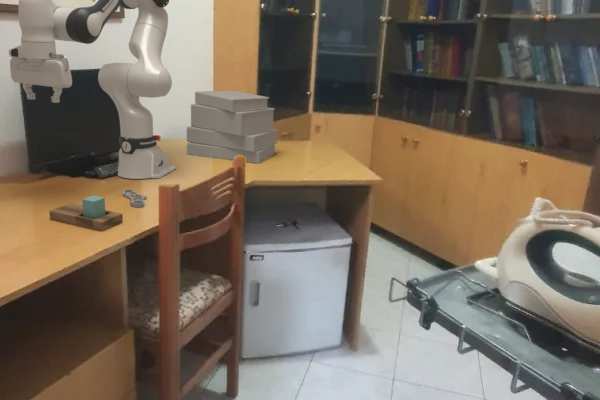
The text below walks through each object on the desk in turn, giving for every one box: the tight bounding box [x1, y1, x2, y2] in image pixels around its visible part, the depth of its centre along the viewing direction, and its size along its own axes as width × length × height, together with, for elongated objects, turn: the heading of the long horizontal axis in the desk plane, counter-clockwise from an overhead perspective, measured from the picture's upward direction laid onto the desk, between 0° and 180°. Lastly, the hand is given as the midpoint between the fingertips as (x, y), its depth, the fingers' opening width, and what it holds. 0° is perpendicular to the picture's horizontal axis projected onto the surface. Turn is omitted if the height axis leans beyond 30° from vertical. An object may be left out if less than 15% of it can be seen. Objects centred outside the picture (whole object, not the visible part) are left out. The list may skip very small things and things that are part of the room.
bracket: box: [122, 189, 148, 208], centre depth 168 cm, size 8×2×15 cm
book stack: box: [186, 89, 279, 165], centre depth 232 cm, size 30×35×26 cm
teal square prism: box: [81, 195, 106, 219], centre depth 147 cm, size 4×4×7 cm
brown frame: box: [48, 202, 124, 232], centre depth 148 cm, size 8×18×2 cm, turn 67°
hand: (43, 100), depth 159 cm, fingers open, 8 cm apart
